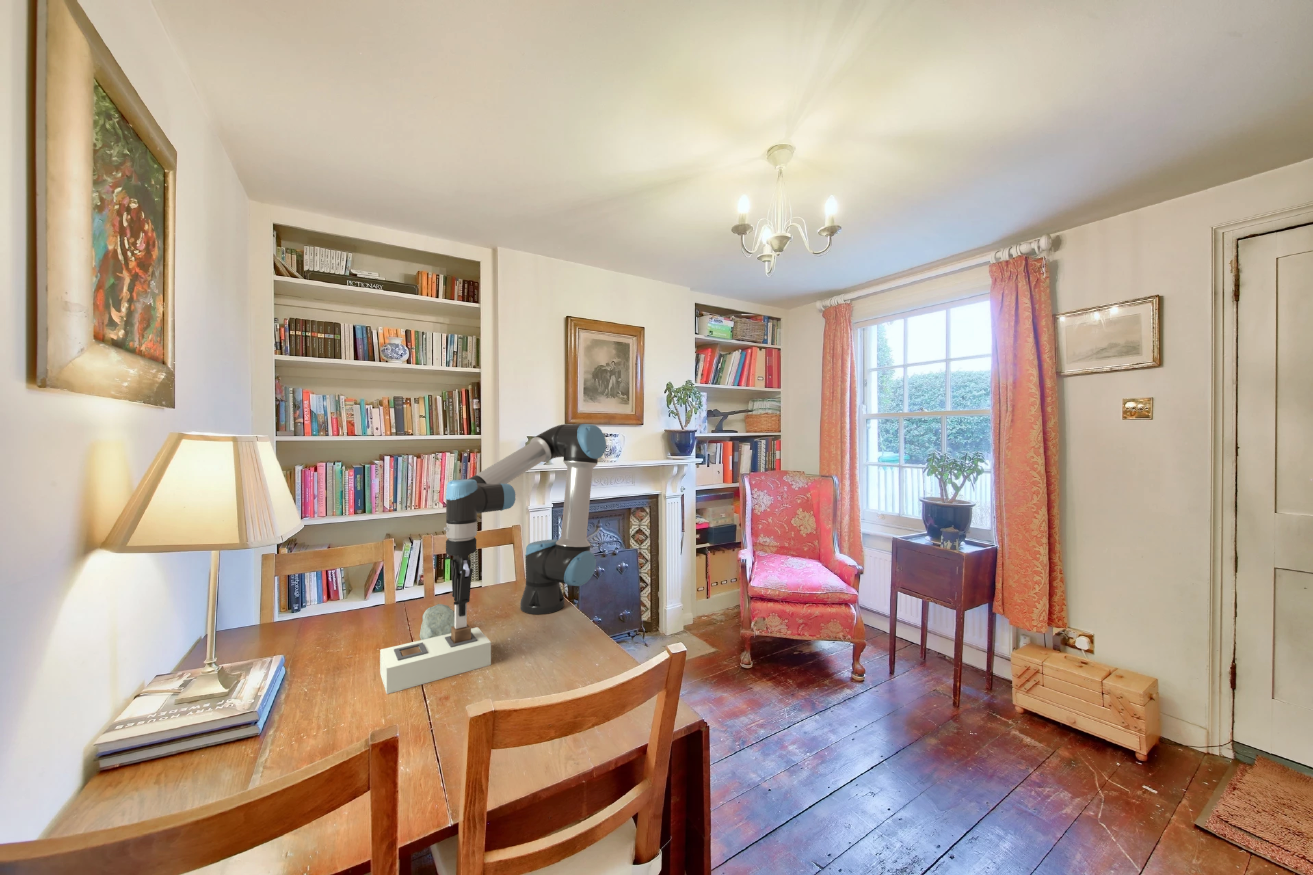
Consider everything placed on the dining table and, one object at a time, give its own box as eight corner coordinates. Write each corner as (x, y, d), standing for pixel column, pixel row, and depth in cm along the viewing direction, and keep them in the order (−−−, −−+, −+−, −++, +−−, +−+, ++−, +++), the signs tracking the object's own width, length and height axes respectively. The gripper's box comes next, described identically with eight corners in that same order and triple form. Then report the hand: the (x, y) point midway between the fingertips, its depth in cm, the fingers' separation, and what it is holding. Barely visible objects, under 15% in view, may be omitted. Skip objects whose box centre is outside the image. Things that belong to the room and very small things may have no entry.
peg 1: (418, 669, 121) (418, 646, 121) (421, 676, 118) (421, 652, 118) (400, 674, 119) (400, 650, 119) (403, 681, 116) (403, 656, 116)
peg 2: (466, 645, 128) (466, 623, 128) (470, 650, 125) (470, 628, 125) (451, 649, 126) (451, 626, 126) (454, 654, 123) (455, 631, 123)
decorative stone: (423, 631, 145) (410, 613, 139) (458, 614, 149) (447, 595, 143) (429, 667, 136) (416, 649, 130) (467, 647, 139) (456, 629, 133)
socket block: (477, 648, 134) (477, 625, 134) (490, 664, 124) (490, 640, 124) (380, 673, 120) (380, 647, 120) (386, 694, 110) (386, 666, 110)
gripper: (440, 535, 128) (439, 622, 128) (452, 544, 118) (451, 638, 118) (469, 532, 133) (468, 616, 133) (483, 540, 122) (482, 631, 122)
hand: (460, 626), depth 125 cm, fingers closed
